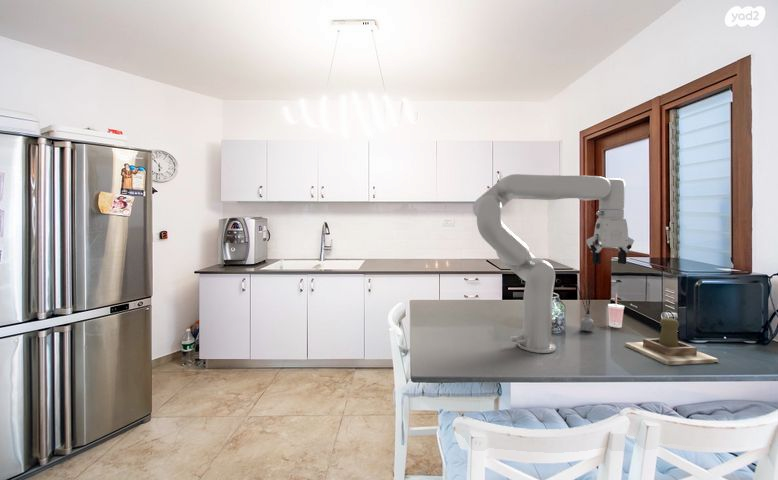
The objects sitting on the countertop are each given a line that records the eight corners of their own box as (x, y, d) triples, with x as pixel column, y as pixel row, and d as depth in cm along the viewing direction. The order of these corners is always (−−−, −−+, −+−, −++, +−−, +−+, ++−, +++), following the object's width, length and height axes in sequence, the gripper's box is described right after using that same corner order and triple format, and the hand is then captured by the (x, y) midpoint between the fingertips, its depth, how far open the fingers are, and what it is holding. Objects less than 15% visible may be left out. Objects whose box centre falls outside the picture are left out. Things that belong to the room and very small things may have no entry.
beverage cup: (620, 328, 158) (621, 295, 157) (604, 325, 163) (605, 293, 162) (625, 326, 162) (627, 294, 161) (610, 323, 166) (611, 291, 166)
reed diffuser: (597, 335, 149) (599, 285, 148) (578, 333, 151) (580, 284, 150) (588, 327, 159) (590, 280, 158) (571, 326, 161) (572, 280, 160)
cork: (680, 354, 125) (682, 321, 124) (658, 351, 128) (659, 319, 127) (678, 349, 130) (679, 317, 129) (656, 346, 133) (658, 315, 132)
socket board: (667, 364, 119) (668, 353, 118) (625, 345, 137) (625, 335, 136) (717, 362, 121) (718, 351, 121) (669, 344, 139) (670, 334, 139)
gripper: (595, 214, 126) (593, 265, 127) (642, 214, 128) (640, 264, 129) (581, 214, 133) (579, 262, 134) (625, 215, 136) (623, 262, 137)
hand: (609, 263), depth 132 cm, fingers open, 9 cm apart
